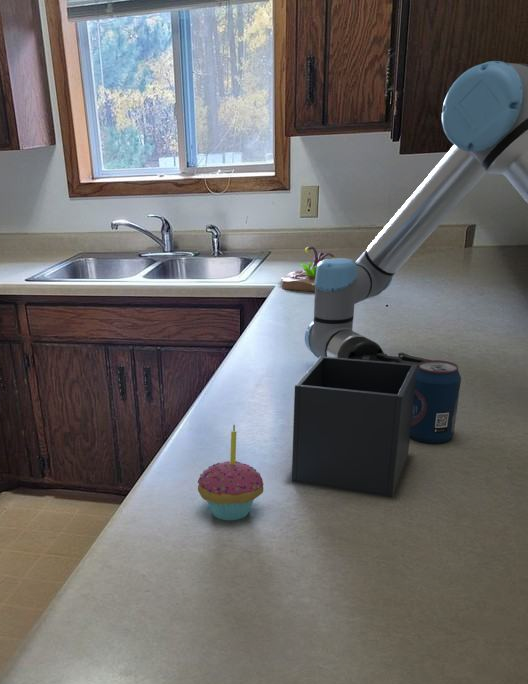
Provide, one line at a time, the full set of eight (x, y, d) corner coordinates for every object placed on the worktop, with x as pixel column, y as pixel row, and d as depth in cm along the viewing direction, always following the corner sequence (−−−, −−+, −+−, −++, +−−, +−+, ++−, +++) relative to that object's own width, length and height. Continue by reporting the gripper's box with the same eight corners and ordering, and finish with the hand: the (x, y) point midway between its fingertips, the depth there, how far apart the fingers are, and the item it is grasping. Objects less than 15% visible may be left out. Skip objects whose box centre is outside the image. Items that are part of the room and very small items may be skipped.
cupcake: (207, 496, 103) (205, 416, 97) (268, 502, 100) (270, 420, 95) (191, 526, 95) (188, 441, 90) (256, 534, 93) (257, 446, 88)
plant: (290, 277, 234) (291, 240, 229) (352, 279, 228) (354, 241, 223) (274, 290, 218) (275, 251, 213) (341, 293, 211) (344, 252, 206)
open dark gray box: (407, 459, 111) (417, 364, 104) (391, 500, 99) (402, 396, 93) (315, 447, 116) (320, 356, 109) (291, 484, 105) (294, 385, 98)
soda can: (400, 431, 120) (407, 360, 115) (441, 428, 120) (450, 357, 115) (416, 448, 114) (425, 374, 108) (460, 445, 114) (471, 371, 109)
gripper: (413, 367, 141) (483, 403, 122) (292, 383, 135) (345, 424, 117) (417, 328, 137) (490, 360, 119) (293, 343, 132) (348, 379, 114)
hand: (418, 392), depth 118 cm, fingers open, 13 cm apart
